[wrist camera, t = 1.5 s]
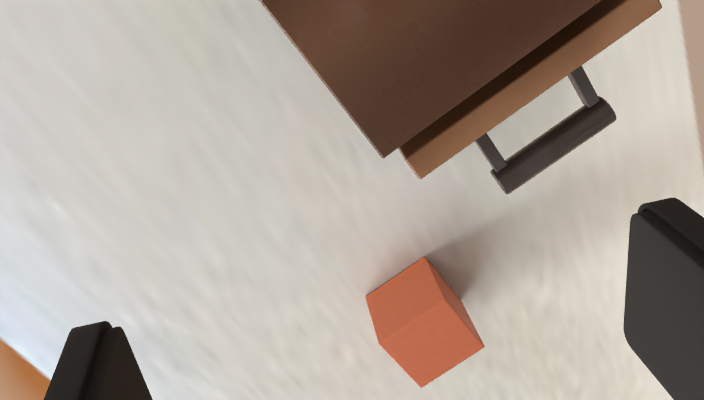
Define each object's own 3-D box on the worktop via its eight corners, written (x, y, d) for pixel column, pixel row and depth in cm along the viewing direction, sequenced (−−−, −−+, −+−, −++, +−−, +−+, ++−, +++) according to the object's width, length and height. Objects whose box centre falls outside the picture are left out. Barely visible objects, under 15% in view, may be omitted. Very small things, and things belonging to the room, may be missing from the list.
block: (424, 255, 38) (445, 299, 34) (461, 301, 40) (485, 347, 36) (364, 296, 39) (378, 343, 35) (404, 339, 41) (421, 388, 37)
